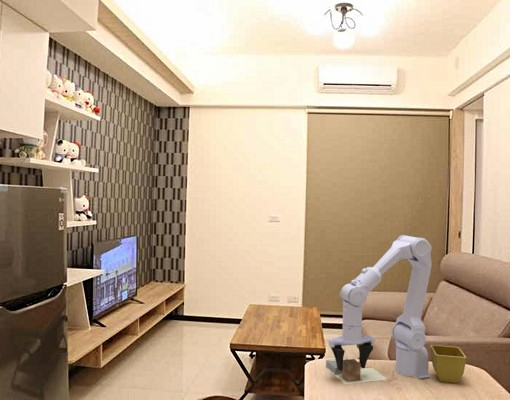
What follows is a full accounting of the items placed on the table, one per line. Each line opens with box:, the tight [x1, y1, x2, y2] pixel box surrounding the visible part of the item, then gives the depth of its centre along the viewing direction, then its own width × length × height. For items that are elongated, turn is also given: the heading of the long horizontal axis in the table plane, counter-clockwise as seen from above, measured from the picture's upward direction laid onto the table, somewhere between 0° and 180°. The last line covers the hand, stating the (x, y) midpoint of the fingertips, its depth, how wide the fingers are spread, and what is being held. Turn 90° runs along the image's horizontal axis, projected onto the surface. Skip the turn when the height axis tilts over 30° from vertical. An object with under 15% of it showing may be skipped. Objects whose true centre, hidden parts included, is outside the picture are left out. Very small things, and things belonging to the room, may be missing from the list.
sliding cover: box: [325, 357, 349, 376], centre depth 136 cm, size 8×6×2 cm
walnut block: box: [341, 358, 361, 383], centre depth 130 cm, size 4×4×6 cm
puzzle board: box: [325, 360, 388, 385], centre depth 135 cm, size 14×14×1 cm
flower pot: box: [429, 344, 467, 384], centre depth 133 cm, size 9×9×9 cm
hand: (351, 368), depth 130 cm, fingers open, 7 cm apart
